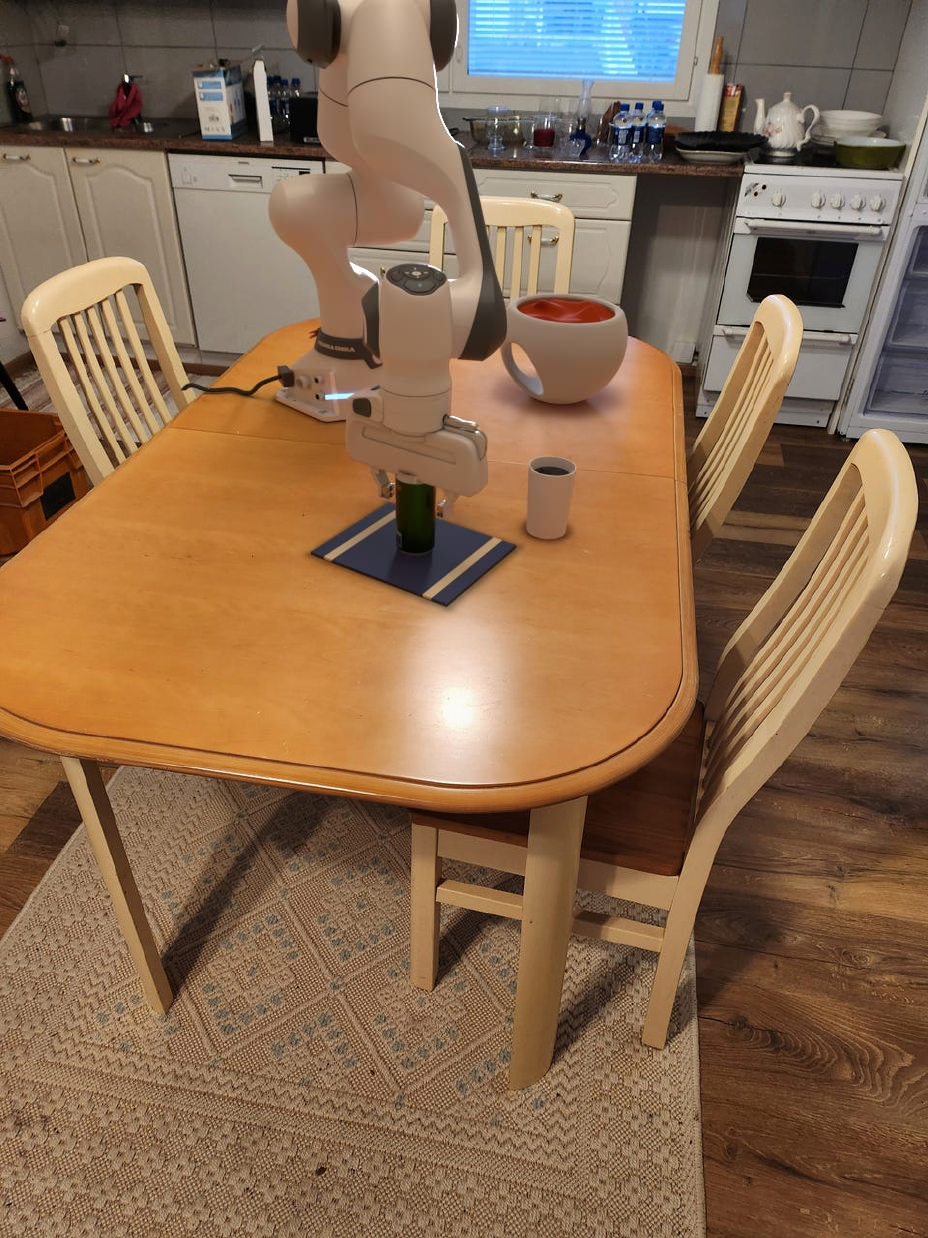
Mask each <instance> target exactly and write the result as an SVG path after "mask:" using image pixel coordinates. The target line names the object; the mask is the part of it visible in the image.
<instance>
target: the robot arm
mask: <svg viewBox="0 0 928 1238" xmlns="http://www.w3.org/2000/svg"><path fill="white" fill-rule="evenodd" d="M285 14H286V15H285V16H286V25H287V31H288V34H289V37H290V41H291V42H292V45H293V49H294V53H295V54H296V55H297V56H298V57H299V58H300V60H301V61H302V62H303V63H304V64H307V65H310V66H312V67H315V68H318V69H319V71H318V88H317V89H318V90H317V91H318V92H317V93H318V94H317V117H316V118H317V120H316V131H317V136H318V140H319V141H320V143H321V145H322V147H323V149H324V150H325V151H326V152H327V153H328V154H329V155H330V156H332V157H333V158H334V159H335V160H336V161H338V162H339V163H342V164H343V165H345V166H347V167H349V168H350V169H351V170H350V171H349V172H343V173H304V174H299V175H295V176H290V177H287V178H283V179H279V180H278V181H277V182H276V184H275V185H274V187H273V188H272V190H271V193H270V195H269V199H268V206H267V208H268V209H267V210H268V218H269V222H270V224H271V225H270V226H271V227H272V229H273V231H274V233H275V234H276V236H277V237H278V238H279V240H280V241H281V242H283V244H285V245H286V246H288V247H289V248H291V250H293V251H294V252H295V253H296V254H297V255H298V256H299V257H300V258H301V259H302V260H303V262H304V263H305V264H306V266H307V268H308V269H309V271H310V274H311V275H312V278H313V280H314V283H315V287H316V294H317V298H318V307H319V318H320V319H319V320H320V326H319V327H317V328H316V329H314V330H312V331H309V332H308V334H311V335H309V337H308V338H309V339H310V340H311V339H314V338H315V342H314V344H313V347H311V349H310V350H308V351H307V352H306V353H304V354H303V355H302V356H301V357H299V358H298V359H297V360H296V361H294V362H293V363H292V364H291V365H290V367H289V366H288V364H284V365H277V368H276V369H277V374H276V375H273V376H270V377H268V378H265V379H263V380H261V381H259V382H258V383H256V384H255V385H254V386H253V387H252V388H251V389H249V390H245V389H241V388H239V387H235V386H224V387H223V386H222V387H207V386H203V385H201V384H198V383H195V382H189V383H186V384H184V385H183V386H182V387H181V388H180V391H183V392H184V391H187V390H189V389H196V390H199V391H202V392H204V393H212V394H213V393H227V392H228V393H229V392H231V393H236V394H239V395H243V396H252V395H254V394H256V393H257V392H258V391H259V390H260V388H261V387H263V386H266V385H267V384H270V383H273V382H276V381H278V382H279V383H280V384H281V386H282V387H281V388H280V389H279V390H278V391H277V392H276V394H275V401H276V402H279V403H281V404H284V405H285V406H288V407H290V408H292V409H295V410H297V411H299V412H301V413H304V414H305V415H307V416H310V417H312V418H315V419H317V420H319V421H322V422H324V423H325V422H327V423H329V422H336V421H345V427H344V428H345V430H344V432H345V433H344V438H345V439H344V441H345V442H344V443H345V451H346V453H347V456H348V457H349V458H350V460H351V461H353V462H356V463H360V464H363V465H366V466H369V468H370V474H371V477H372V479H373V480H374V482H375V484H376V486H377V495H378V497H379V498H382V499H385V500H390V499H391V498H393V497H394V496H395V483H393V482H391V481H390V480H389V475H388V474H387V473H391V474H394V475H395V474H397V473H398V472H397V471H398V470H399V471H401V472H403V473H404V474H406V473H409V475H414V476H418V478H417V479H418V480H419V481H420V482H422V483H425V484H428V485H431V486H434V487H436V488H438V489H441V490H443V496H444V497H445V498H446V500H445V499H444V500H442V501H441V502H439V503H437V504H436V517H439V518H442V519H445V520H449V519H450V518H451V517H453V514H454V505H455V503H456V502H457V500H458V499H459V498H460V496H462V497H463V496H464V497H466V498H473V497H474V496H476V495H477V494H479V493H481V492H482V491H483V490H485V488H486V487H487V486H488V482H489V465H488V463H489V462H488V442H489V441H488V440H489V439H488V436H487V434H486V433H485V432H484V431H483V429H482V428H480V427H479V424H478V423H476V422H473V421H470V420H469V421H468V420H464V419H462V418H459V417H457V416H453V415H452V397H453V395H452V394H453V380H452V376H451V372H450V371H451V370H450V362H451V359H457V360H459V361H470V362H471V361H474V362H484V361H486V360H487V359H488V358H490V357H491V356H492V355H493V354H494V353H496V352H497V351H498V350H499V349H500V346H501V345H502V344H503V342H504V341H505V339H506V335H507V326H508V317H507V310H506V309H507V306H506V301H505V298H504V295H503V291H502V288H501V284H500V281H499V278H498V275H497V271H496V268H495V262H494V259H493V254H492V249H491V244H490V240H489V235H488V230H487V225H486V222H485V221H486V220H485V215H484V211H483V206H482V202H481V197H480V193H479V189H478V184H477V181H476V177H475V176H476V175H475V172H474V168H473V166H472V161H471V159H470V157H469V156H470V155H469V154H468V151H467V149H466V147H465V146H464V145H463V144H461V143H460V142H459V141H457V140H455V139H454V138H453V136H451V134H450V132H449V129H448V128H447V127H446V125H445V123H444V120H443V118H442V115H441V112H440V108H439V102H438V101H439V100H438V99H439V98H438V88H437V87H438V86H437V76H436V75H437V74H436V73H439V72H442V71H444V69H445V68H446V67H447V66H448V65H449V64H450V63H451V61H452V59H453V56H454V53H455V50H456V49H455V48H456V46H457V42H458V38H459V37H458V35H459V17H458V11H457V4H456V0H287V4H286V13H285ZM424 196H425V197H426V198H428V199H430V200H431V201H433V202H434V203H435V204H436V205H437V206H438V207H440V209H441V210H442V211H443V212H444V214H445V217H447V221H448V224H449V229H450V233H451V239H452V242H453V247H454V252H455V257H456V261H457V265H458V269H459V270H458V271H459V274H460V276H459V277H458V278H450V279H449V277H448V276H447V274H446V273H445V271H442V270H441V269H439V268H437V267H435V266H433V265H431V264H426V263H421V262H407V263H400V264H397V265H394V266H391V268H389V269H388V270H386V272H385V273H384V274H383V277H382V280H381V281H380V280H379V279H378V277H377V276H375V275H374V274H373V273H372V272H370V271H368V270H367V269H365V268H363V267H361V266H358V265H356V264H354V263H352V262H351V261H350V259H349V251H348V250H349V249H350V248H354V247H355V248H356V247H375V246H377V247H378V246H391V245H394V244H399V243H402V242H406V241H410V240H412V239H414V238H415V237H416V236H417V234H418V233H419V232H420V230H421V229H422V227H423V224H424V220H425V213H426V205H425V200H424ZM208 388H209V389H208Z"/></svg>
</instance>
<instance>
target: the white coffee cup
mask: <svg viewBox="0 0 928 1238" xmlns="http://www.w3.org/2000/svg"><path fill="white" fill-rule="evenodd" d="M527 473H528V475H527V476H528V477H527V501H526V524H525V525H526V526H525V527H526V529H525V531H526V532H527V533H528V534H529V535H531V536H532V537H535V538H538V539H542V540H554V539H555V540H557V539H559V538H562V537H563V536H564V535H565V534H566V533H567V527H568V520H569V516H570V515H569V514H570V508H571V502H572V497H573V496H572V495H573V492H574V485H575V478H576V473H577V465H576V464H575V463H574V461H572V460H570V459H567V458H566V457H565V458H564V457H561V456H554V455H543V456H537V457H534V458H532V459H531V460H530V461H529V462H528V472H527Z"/></svg>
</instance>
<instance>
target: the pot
mask: <svg viewBox="0 0 928 1238" xmlns="http://www.w3.org/2000/svg"><path fill="white" fill-rule="evenodd" d="M506 310H507V317H508V326H507V335H506V339H505V341H504V342H503V344H502V345H501V346H500V347H499V350H500V356H501V360H502V362H503V366H504V368H505V370H506V372H507V373H508V375H509V376H510V378H511V379H512V380H513V382H514V383H515V384H516V385H517V386H518V387H519V388H520V389H521V390H522V391H523V392H524V393H526V394H527V395H529V396H530V397H532V398H534V399H536V400H538V401H540V402H544V403H548V404H554V405H570V404H575V403H579V402H582V401H584V400H587V399H589V398H591V397H593V396H595V395H596V394H598V393H599V392H601V391H602V390H603V389H604V388H606V387H607V385H609V384H610V382H611V381H612V380H613V379H614V378H615V376H616V375H617V373H618V372H619V370H620V368H621V366H622V364H623V361H624V359H625V356H626V352H627V348H628V342H629V341H628V340H629V332H628V331H629V329H628V322H627V317H626V314H625V312H624V310H623V309H622V308H621V307H620V306H618V305H616V304H615V303H613V302H611V301H608V300H606V299H605V300H604V299H602V298H597V297H593V296H588V295H583V294H575V293H561V292H556V293H555V292H548V293H547V292H546V293H534V294H528V295H523V296H520V297H517V298H515V299H513V300H512V301H510V302H509V303H508V305H507V306H506ZM512 344H515V345H518V346H519V347H520V349H522V351H523V352H524V353H525V355H526V357H527V358H528V359H529V361H530V362H531V364H532V366H533V368H534V370H535V371H536V373H537V374H536V375H538V377H531V376H529V375H527V374H525V373H524V372H523V371H522V370H521V369H520V368H519V367H518V365H517V363H516V361H515V360H514V356H513V348H512V347H513V345H512Z"/></svg>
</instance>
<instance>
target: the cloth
mask: <svg viewBox="0 0 928 1238" xmlns="http://www.w3.org/2000/svg"><path fill="white" fill-rule="evenodd" d="M517 546H518V545H517V544H515V543H512V542H509V541H506V540H504V539H501V538H498V537H495V536H491V535H488V534H486V533H482V532H480V531H476V530H473V529H470V528H467V527H464V526H461V525H459V524H456V523H452V522H450V521H447V520H444V519H440V518H437V517H436V522H435V546H434V548H433V550H432V552H430V553H429V554H427V555H425V556H421V557H411V556H406V555H404V554H402V553H400V551H399V550H398V548H397V546H396V504H395V503H393V502H390V501H388V502H386V503H385V504H383V505H382V506H380V507H379V508H377V509H375V510H374V511H372V512H371V513H369V514H368V515H366V516H364V517H363V518H361V519H360V520H358V521H357V522H355V523H353V524H352V525H350V526H348V527H347V528H346V529H343V530H342V531H340V532H339V533H338V534H336V535H335V536H333V537H331V538H329V539H328V540H327V541H325V542H324V543H322V544H320V545H319V546H318V547H316V548H314V549H313V550H310V555H311V556H314V557H317V558H320V559H322V560H325V561H327V562H330V563H332V564H335V565H336V566H337V565H338V566H340V567H343V568H345V569H348V570H350V571H353V572H355V573H358V574H361V575H363V576H366V577H369V578H372V579H374V580H377V581H379V582H381V583H384V584H387V585H389V586H392V587H395V588H397V589H400V590H402V591H405V592H407V593H410V594H413V595H416V596H417V597H420V598H423V599H426V600H429V601H431V602H433V603H437V604H438V605H441V606H444V607H445V608H446V607H448V606H450V605H451V604H452V603H453V602H454V601H455V600H457V599H458V598H459V597H460V596H461V595H462V594H463V593H465V592H466V591H467V590H468V589H469V588H470V587H472V586H473V585H474V584H475V583H476V582H478V581H479V580H480V579H481V578H483V576H484V575H486V574H488V572H489V571H490V570H491V569H493V568H494V567H495V566H496V565H498V564H499V563H500V562H501V561H502V560H504V559H505V557H507V556H509V554H511V553H512V552H513V551H514V550H515V549H517Z"/></svg>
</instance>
